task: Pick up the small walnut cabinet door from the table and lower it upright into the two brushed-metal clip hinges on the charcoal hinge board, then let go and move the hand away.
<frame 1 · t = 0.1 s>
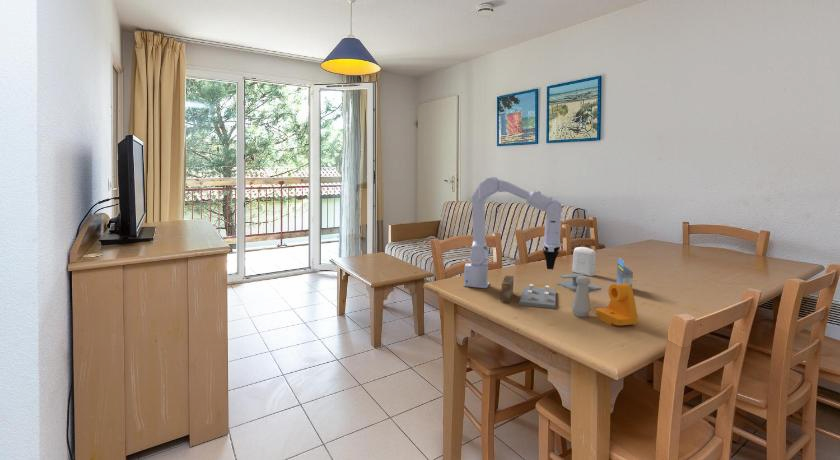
hand: (550, 266, 162), 10 cm above the table, tool pointing down, fingers open, 7 cm apart
photo printer: (583, 274, 193), on the table
label tape box: (623, 290, 168), on the table
hinge board: (538, 298, 155), on the table
bracket: (614, 321, 133), on the table
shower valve: (575, 288, 172), on the table
cabinet door: (507, 298, 156), on the table
salt shaker: (580, 315, 138), on the table
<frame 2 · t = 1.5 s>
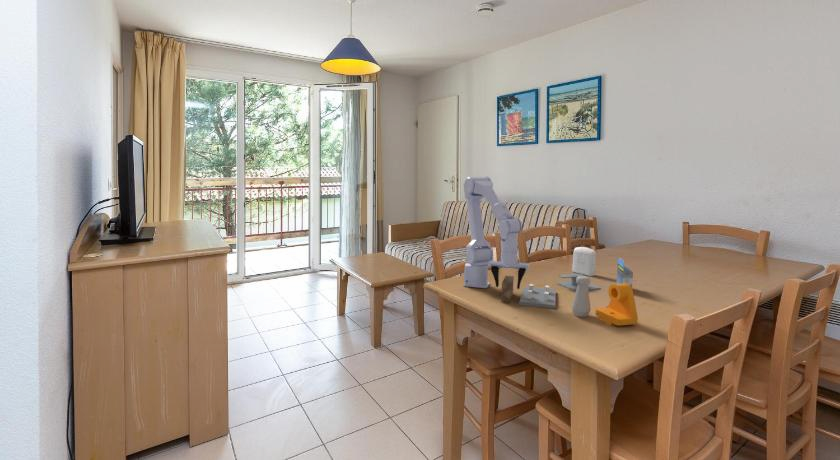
hand: (507, 287, 155), 4 cm above the table, tool pointing down, fingers open, 7 cm apart
nothing on the table moved.
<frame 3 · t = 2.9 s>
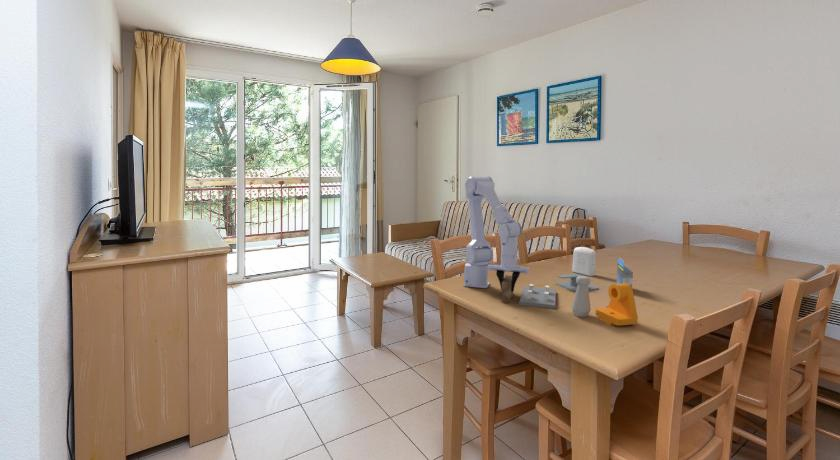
hand: (507, 290, 155), 3 cm above the table, tool pointing down, fingers closed on cabinet door, 3 cm apart
cabinet door: (507, 297, 156), on the table, touching gripper
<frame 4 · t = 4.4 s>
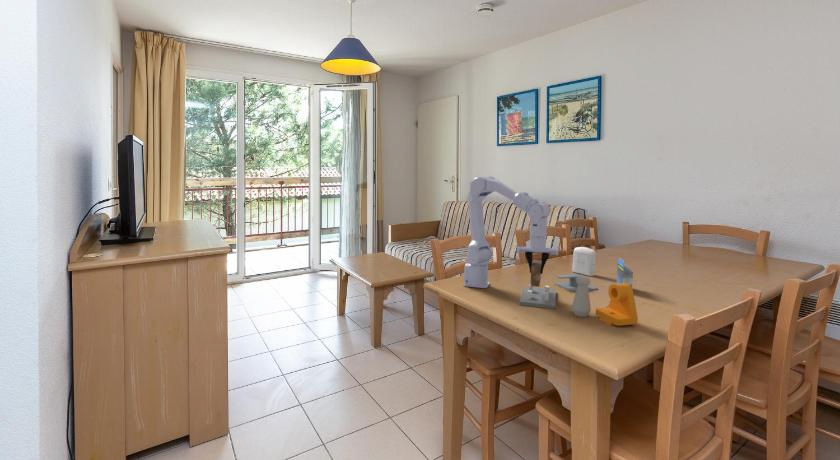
hand: (536, 272, 154), 10 cm above the table, tool pointing down, fingers closed on cabinet door, 3 cm apart
cabinet door: (535, 282, 154), point 6 cm above the table, touching gripper
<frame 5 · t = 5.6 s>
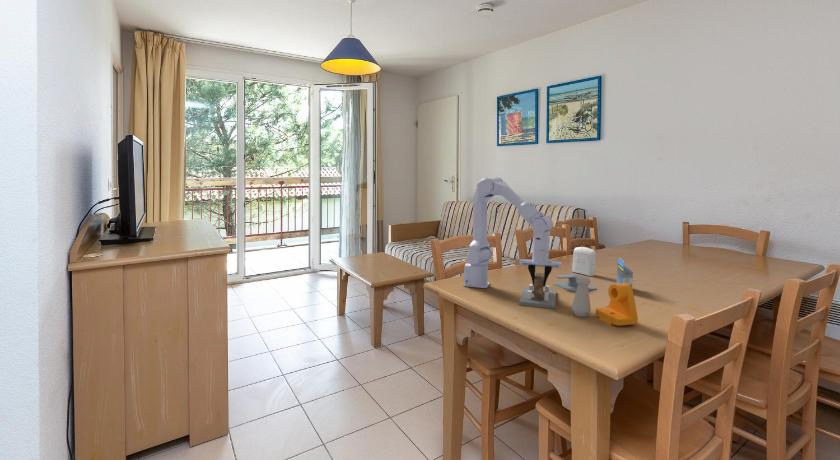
hand: (538, 285, 154), 5 cm above the table, tool pointing down, fingers closed on cabinet door, 3 cm apart
cabinet door: (538, 295, 155), point 1 cm above the table, touching gripper, hinge board
when the fingers open (5 cm above the table, at t = 6.2 s): cabinet door stays where it is, resting on hinge board.
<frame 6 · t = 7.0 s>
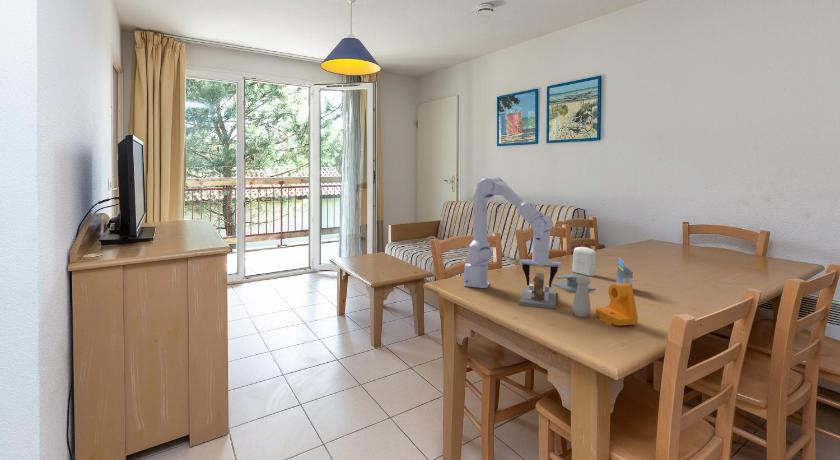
hand: (538, 285, 154), 5 cm above the table, tool pointing down, fingers open, 7 cm apart
cabinet door: (538, 295, 155), point 1 cm above the table, touching hinge board
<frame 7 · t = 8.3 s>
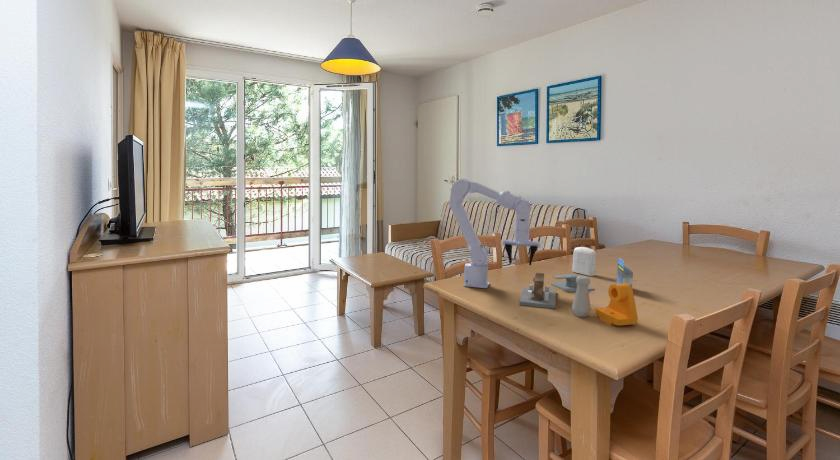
hand: (520, 263, 167), 10 cm above the table, tool pointing down, fingers open, 7 cm apart
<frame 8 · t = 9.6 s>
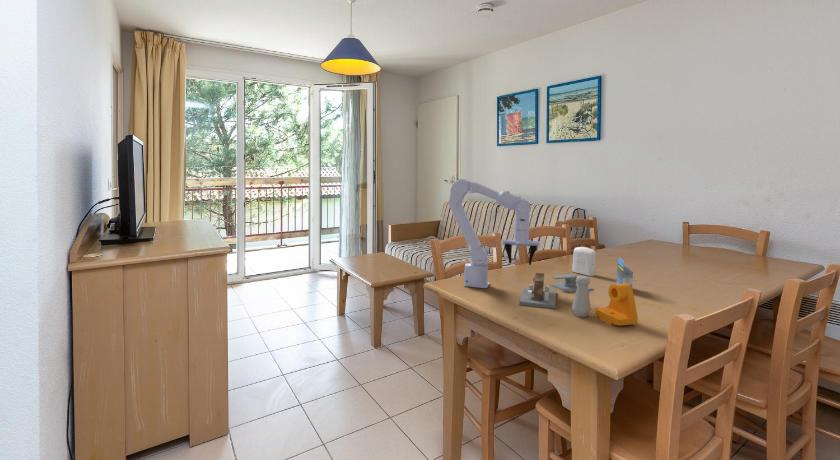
hand: (520, 263, 167), 10 cm above the table, tool pointing down, fingers open, 7 cm apart
at the end: cabinet door 0.1 cm off-centre on the hinge board, point 1.2 cm above the hinge board's base; cabinet door tilted 0°; the gripper is holding nothing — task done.
